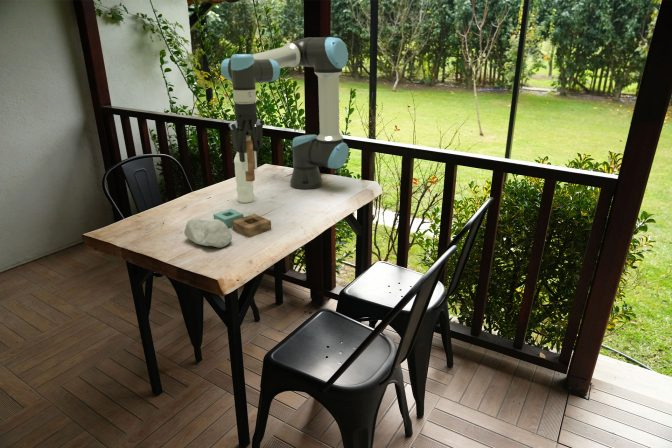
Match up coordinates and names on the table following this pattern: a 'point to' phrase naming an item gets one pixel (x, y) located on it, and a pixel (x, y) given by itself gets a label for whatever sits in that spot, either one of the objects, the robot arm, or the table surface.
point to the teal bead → (228, 216)
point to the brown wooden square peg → (249, 159)
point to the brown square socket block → (251, 225)
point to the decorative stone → (208, 232)
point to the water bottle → (242, 183)
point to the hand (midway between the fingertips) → (249, 169)
